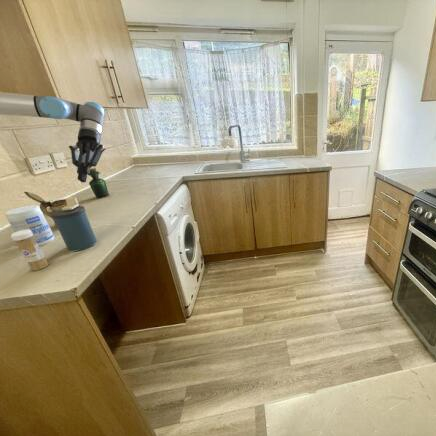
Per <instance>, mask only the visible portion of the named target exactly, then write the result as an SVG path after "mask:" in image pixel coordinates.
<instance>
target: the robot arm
mask: <svg viewBox="0 0 436 436" xmlns="http://www.w3.org/2000/svg"><path fill="white" fill-rule="evenodd" d="M0 116H14V117H15V116H17V117H30V118H43V119H54V120H63V119H65V120H69V121H75V122H77V123H79V128H78V133H77V142H75V145H69V146H68V149H70V154H71V162H72V165H73V166H75V167H76V168H77V169H76V173H77V180H78V181H80V182H81V183H86V182H87V179H88V174H89V173H90V168H96V167H97V165H98V163H99V161H100V158H101V157H102V154H103V153H104V152H105V151H106V148H105V146H104V145H103V144H101V138H102V137H101V136H102V132H103V125H104V121H105V110H104V108H103V106H102V105H100V104H99V103H97V102H95V101H86V102H84V104H81V103H76V102H73V101H71V100H70V101H69V100H66V99H63V98H60V97H56V96H53V95H52V96H51V95H45V96H44V95H43V96H42V95H35V94H34V95H33V94H22V93H15V92H4V91H0Z"/></svg>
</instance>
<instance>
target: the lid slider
mask: <svg viewBox="0 0 436 436" xmlns="http://www.w3.org/2000/svg"><path fill="white" fill-rule="evenodd" d="M64 199H65V200H66V202H67V206H65V207H63V208H61V209H62V210H72V209H74V208H76V207H78V206H80V204H79V202H78V199H77V197H66V198H64Z"/></svg>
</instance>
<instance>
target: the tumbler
mask: <svg viewBox="0 0 436 436" xmlns="http://www.w3.org/2000/svg"><path fill="white" fill-rule="evenodd" d="M51 212H52V211H51ZM51 216H52V218H54V220H55V222H56V225H57V226H56V227H57V229H58V231H59V233H60V235H61V238H62V240H63V243H64V245H65V246H66V248H67V250H68V251H73V253H79V252H83V251H85V250H88V249H90V248H93V247H94V246H95V245H96V243H97V238H96V235H95V233H94V231H93V228H92V226H91V223H90V221H89V217H88V216H87V213H86V208H85V206H83V205H79V206H78V207H76V208H74V209H72V210H62V209H59V210H56V211H54V212H52V213H51ZM52 218H51V219H52ZM54 220H53V221H54ZM55 222H54V223H55Z"/></svg>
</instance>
